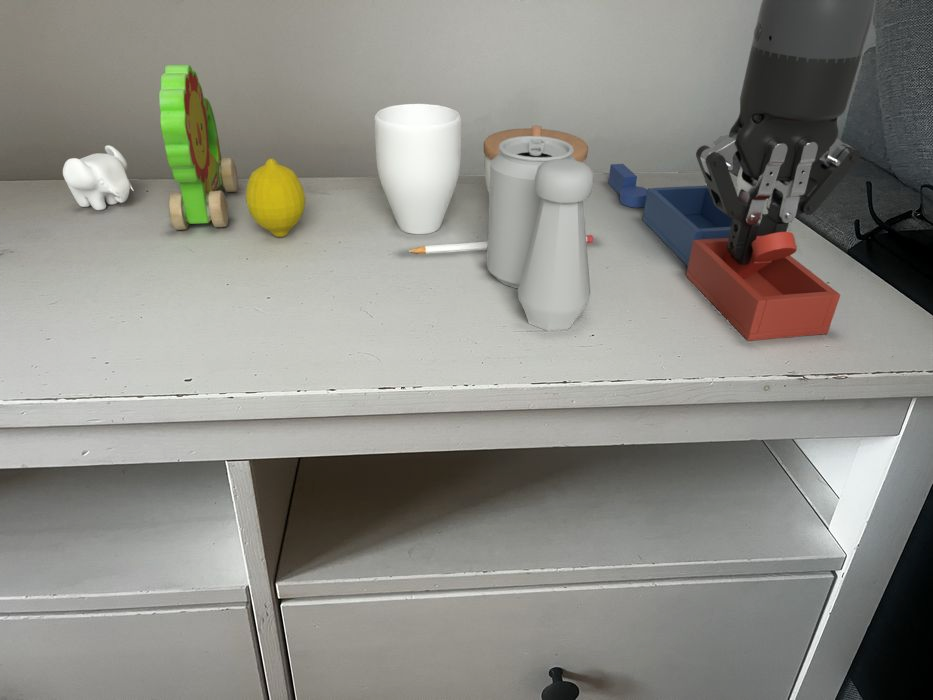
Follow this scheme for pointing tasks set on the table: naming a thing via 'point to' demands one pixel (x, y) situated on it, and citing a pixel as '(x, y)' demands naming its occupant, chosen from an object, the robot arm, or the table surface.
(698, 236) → the blue bin
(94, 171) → the elephant figurine
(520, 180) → the can
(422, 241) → the table surface
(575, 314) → the salt shaker
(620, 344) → the table surface
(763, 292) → the red bin
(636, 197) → the blue spoon
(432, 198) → the mug
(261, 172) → the fruit
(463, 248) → the pencil
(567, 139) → the trinket box
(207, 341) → the table surface
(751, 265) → the red spoon
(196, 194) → the toy lion
